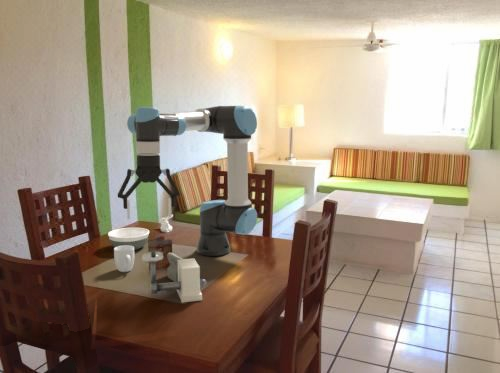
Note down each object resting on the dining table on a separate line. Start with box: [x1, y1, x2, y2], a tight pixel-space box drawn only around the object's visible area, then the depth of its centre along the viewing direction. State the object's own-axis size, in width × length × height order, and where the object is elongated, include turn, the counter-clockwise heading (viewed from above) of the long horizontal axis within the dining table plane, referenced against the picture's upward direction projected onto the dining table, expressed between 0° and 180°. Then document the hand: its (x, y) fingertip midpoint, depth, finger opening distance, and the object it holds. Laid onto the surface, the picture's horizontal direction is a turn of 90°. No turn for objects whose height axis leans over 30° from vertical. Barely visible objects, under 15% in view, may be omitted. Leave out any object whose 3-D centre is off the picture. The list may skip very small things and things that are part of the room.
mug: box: [113, 245, 135, 273], centre depth 182 cm, size 11×8×9 cm
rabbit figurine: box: [159, 213, 174, 233], centre depth 241 cm, size 12×8×10 cm, turn 23°
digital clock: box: [166, 252, 183, 282], centre depth 175 cm, size 14×8×9 cm, turn 25°
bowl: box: [107, 226, 150, 251], centre depth 211 cm, size 19×19×8 cm
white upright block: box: [176, 257, 203, 304], centre depth 159 cm, size 7×12×11 cm, turn 18°
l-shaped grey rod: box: [141, 250, 208, 295], centre depth 157 cm, size 22×7×16 cm, turn 108°
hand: (149, 217), depth 154 cm, fingers open, 13 cm apart
